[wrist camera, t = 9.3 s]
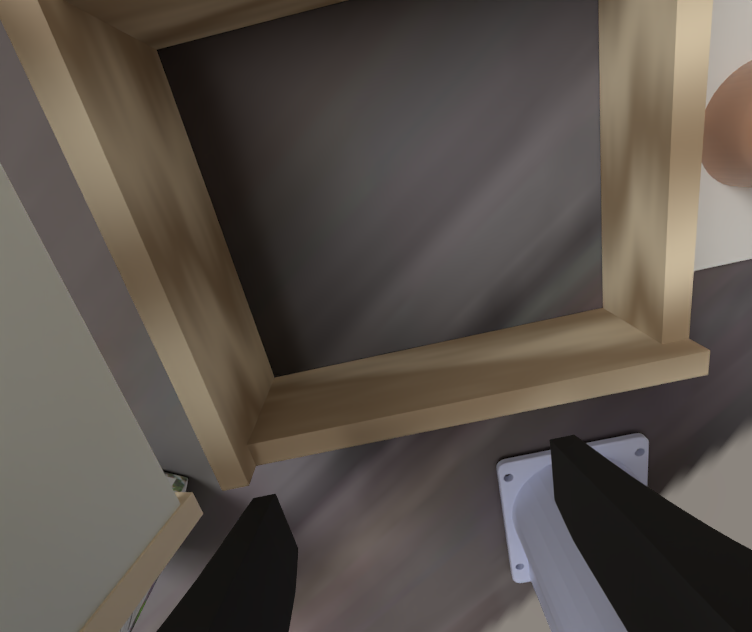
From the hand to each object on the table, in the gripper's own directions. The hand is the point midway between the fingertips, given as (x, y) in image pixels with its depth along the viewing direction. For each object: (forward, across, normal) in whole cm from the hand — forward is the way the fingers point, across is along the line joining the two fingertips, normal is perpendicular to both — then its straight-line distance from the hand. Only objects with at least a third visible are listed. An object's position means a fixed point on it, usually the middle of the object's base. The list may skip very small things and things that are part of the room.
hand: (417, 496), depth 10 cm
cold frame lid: (-7, +10, -6) cm, 14 cm away
